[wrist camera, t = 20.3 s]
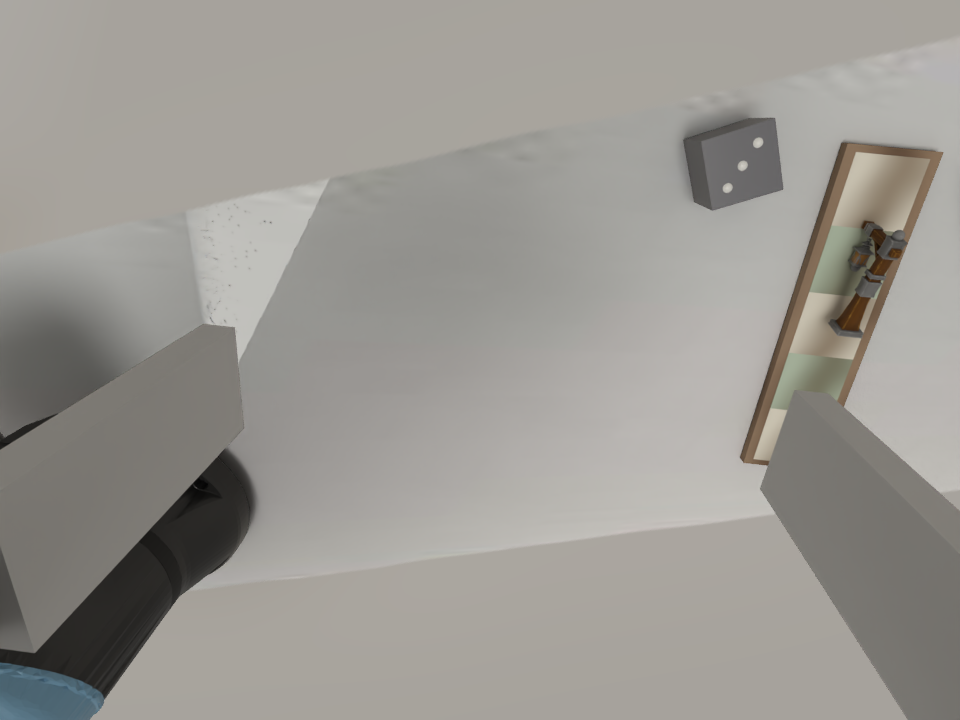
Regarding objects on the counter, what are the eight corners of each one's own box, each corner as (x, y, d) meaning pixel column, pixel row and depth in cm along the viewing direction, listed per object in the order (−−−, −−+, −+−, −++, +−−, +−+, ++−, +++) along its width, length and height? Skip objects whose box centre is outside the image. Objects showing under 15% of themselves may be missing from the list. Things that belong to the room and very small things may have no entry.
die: (693, 201, 41) (713, 210, 37) (682, 139, 40) (701, 141, 35) (760, 181, 40) (787, 188, 36) (751, 117, 39) (779, 116, 35)
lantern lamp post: (863, 340, 40) (922, 237, 36) (838, 337, 40) (893, 234, 36) (837, 307, 44) (887, 210, 39) (814, 305, 44) (861, 208, 39)
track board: (740, 457, 49) (743, 462, 48) (841, 142, 39) (848, 143, 38) (813, 466, 49) (818, 471, 48) (935, 151, 39) (944, 152, 38)
